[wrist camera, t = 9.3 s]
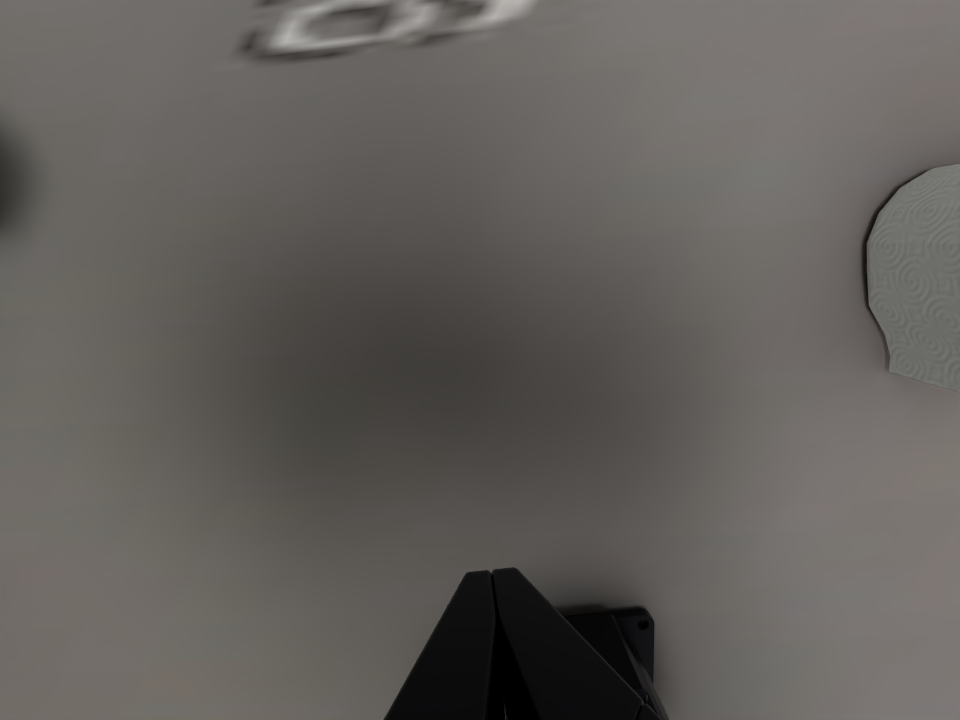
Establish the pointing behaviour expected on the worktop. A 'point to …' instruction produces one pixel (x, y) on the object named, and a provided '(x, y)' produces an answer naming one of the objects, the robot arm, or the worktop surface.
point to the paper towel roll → (919, 277)
